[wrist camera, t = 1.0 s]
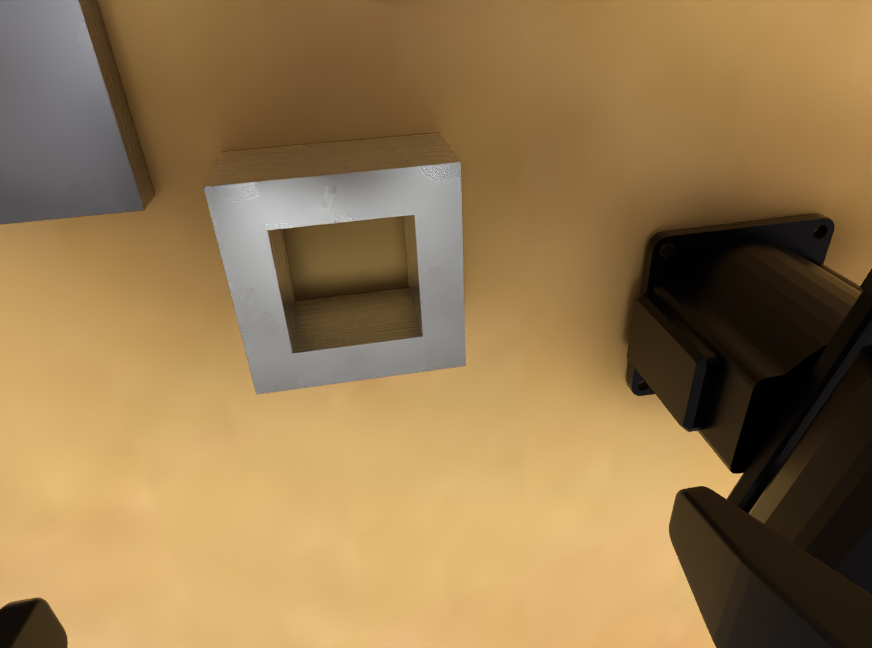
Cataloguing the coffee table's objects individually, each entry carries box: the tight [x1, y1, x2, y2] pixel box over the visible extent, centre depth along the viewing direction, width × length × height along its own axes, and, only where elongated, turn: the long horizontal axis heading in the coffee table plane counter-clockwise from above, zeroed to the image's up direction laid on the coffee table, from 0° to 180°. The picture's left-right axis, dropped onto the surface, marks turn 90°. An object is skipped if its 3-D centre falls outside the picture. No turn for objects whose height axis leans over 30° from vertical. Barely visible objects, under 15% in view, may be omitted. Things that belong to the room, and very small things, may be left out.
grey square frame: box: [204, 133, 466, 394], centre depth 17 cm, size 6×6×3 cm
